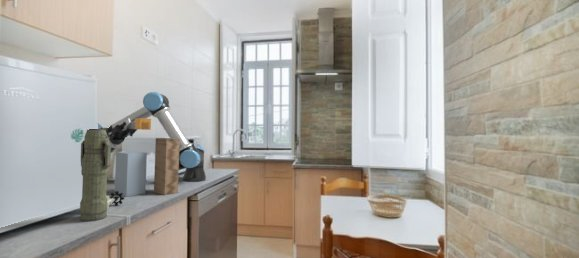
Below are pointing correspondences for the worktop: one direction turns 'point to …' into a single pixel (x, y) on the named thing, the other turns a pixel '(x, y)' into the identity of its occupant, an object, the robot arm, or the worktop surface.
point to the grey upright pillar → (130, 173)
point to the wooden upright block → (166, 166)
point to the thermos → (94, 174)
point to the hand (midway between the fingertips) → (133, 120)
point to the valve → (114, 199)
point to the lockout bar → (140, 124)
